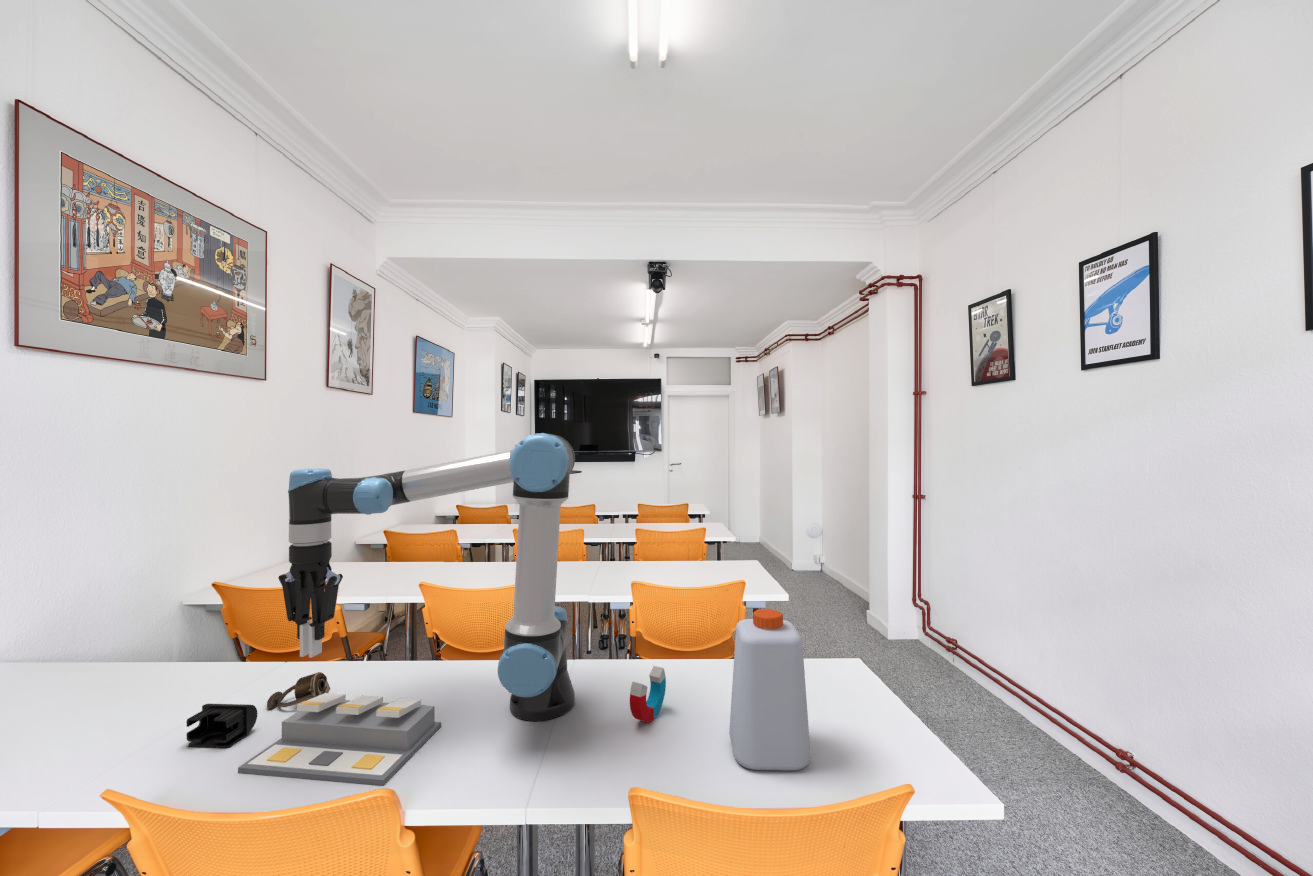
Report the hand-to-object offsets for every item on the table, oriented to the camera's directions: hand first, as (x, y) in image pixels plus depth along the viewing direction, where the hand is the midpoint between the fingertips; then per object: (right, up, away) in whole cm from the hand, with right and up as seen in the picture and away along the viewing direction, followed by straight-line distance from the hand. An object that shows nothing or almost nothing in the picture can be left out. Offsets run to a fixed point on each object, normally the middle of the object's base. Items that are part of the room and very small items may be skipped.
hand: (310, 654), depth 111 cm
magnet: (+71, -18, +9) cm, 74 cm away
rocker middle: (+9, -12, +2) cm, 15 cm away
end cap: (-20, -19, +2) cm, 27 cm away
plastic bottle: (+95, -18, -3) cm, 97 cm away
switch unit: (+9, -18, -2) cm, 21 cm away
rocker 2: (+18, -11, +1) cm, 22 cm away
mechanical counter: (-14, -19, +17) cm, 29 cm away
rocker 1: (0, -12, +3) cm, 12 cm away
